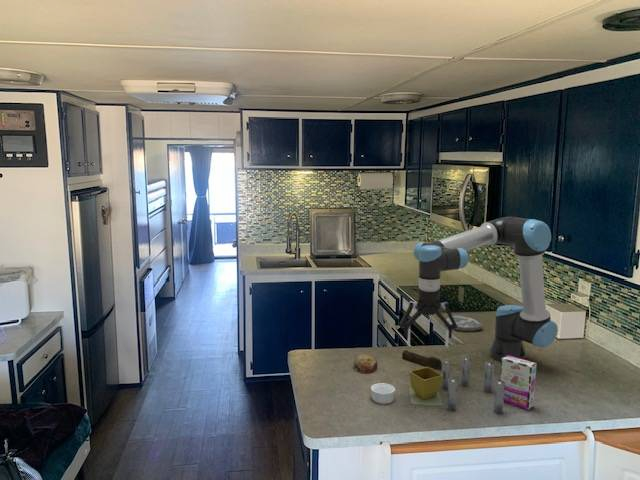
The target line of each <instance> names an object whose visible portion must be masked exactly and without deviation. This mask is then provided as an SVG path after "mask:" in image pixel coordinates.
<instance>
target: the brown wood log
mask: <svg viewBox="0 0 640 480" xmlns="http://www.w3.org/2000/svg"><path fill="white" fill-rule="evenodd" d="M401 358H402V359H405V360H408V361H411V362H412V361H413V362H415V363H418V364H422V365H424V366H426V367H429V368H431V369H433V370H438V371H442V360H441V359H440V358H437V357H435V356H429V357H428V356H425V355H422V354H421V355H420V354H418V353H415V352H412V351H409V350H407V349H405V350H403V351H402V353H401Z"/></svg>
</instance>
